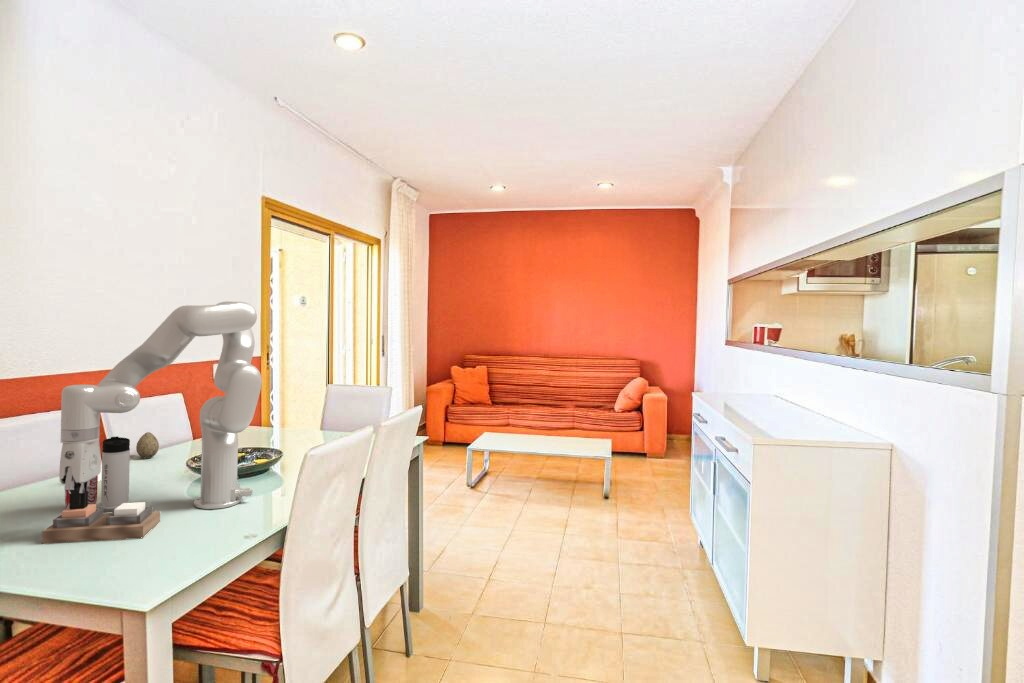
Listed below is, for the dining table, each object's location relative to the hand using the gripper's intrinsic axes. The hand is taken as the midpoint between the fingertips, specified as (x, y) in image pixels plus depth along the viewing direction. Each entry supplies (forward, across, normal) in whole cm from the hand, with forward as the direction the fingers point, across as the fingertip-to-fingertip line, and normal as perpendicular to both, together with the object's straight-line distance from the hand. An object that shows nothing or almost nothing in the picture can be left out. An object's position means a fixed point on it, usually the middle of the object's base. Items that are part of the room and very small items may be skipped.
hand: (78, 507), depth 133 cm
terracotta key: (+2, 0, 0) cm, 2 cm away
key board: (+6, 0, -6) cm, 9 cm away
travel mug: (+7, +18, -1) cm, 19 cm away
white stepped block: (+7, +48, +18) cm, 52 cm away
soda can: (+7, +20, +8) cm, 23 cm away
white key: (+2, 0, -11) cm, 11 cm away
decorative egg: (+7, +77, +12) cm, 78 cm away
